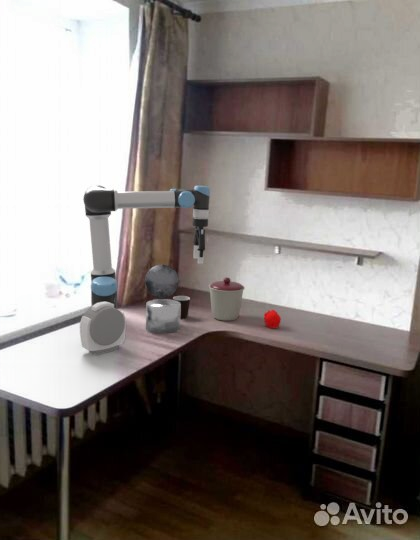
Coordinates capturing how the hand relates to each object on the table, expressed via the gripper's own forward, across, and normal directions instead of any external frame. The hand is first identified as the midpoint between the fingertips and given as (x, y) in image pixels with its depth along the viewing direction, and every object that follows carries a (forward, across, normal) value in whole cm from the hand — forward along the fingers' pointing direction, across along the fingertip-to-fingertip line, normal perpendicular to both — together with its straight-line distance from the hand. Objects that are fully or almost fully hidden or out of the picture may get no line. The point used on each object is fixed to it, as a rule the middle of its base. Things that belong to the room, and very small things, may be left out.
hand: (198, 261), depth 249 cm
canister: (+29, -1, -15) cm, 33 cm away
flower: (+29, -17, -35) cm, 49 cm away
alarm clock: (+30, -42, +44) cm, 68 cm away
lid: (+9, -6, +18) cm, 21 cm away
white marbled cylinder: (+30, -15, +18) cm, 38 cm away
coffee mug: (+30, +3, +7) cm, 30 cm away
